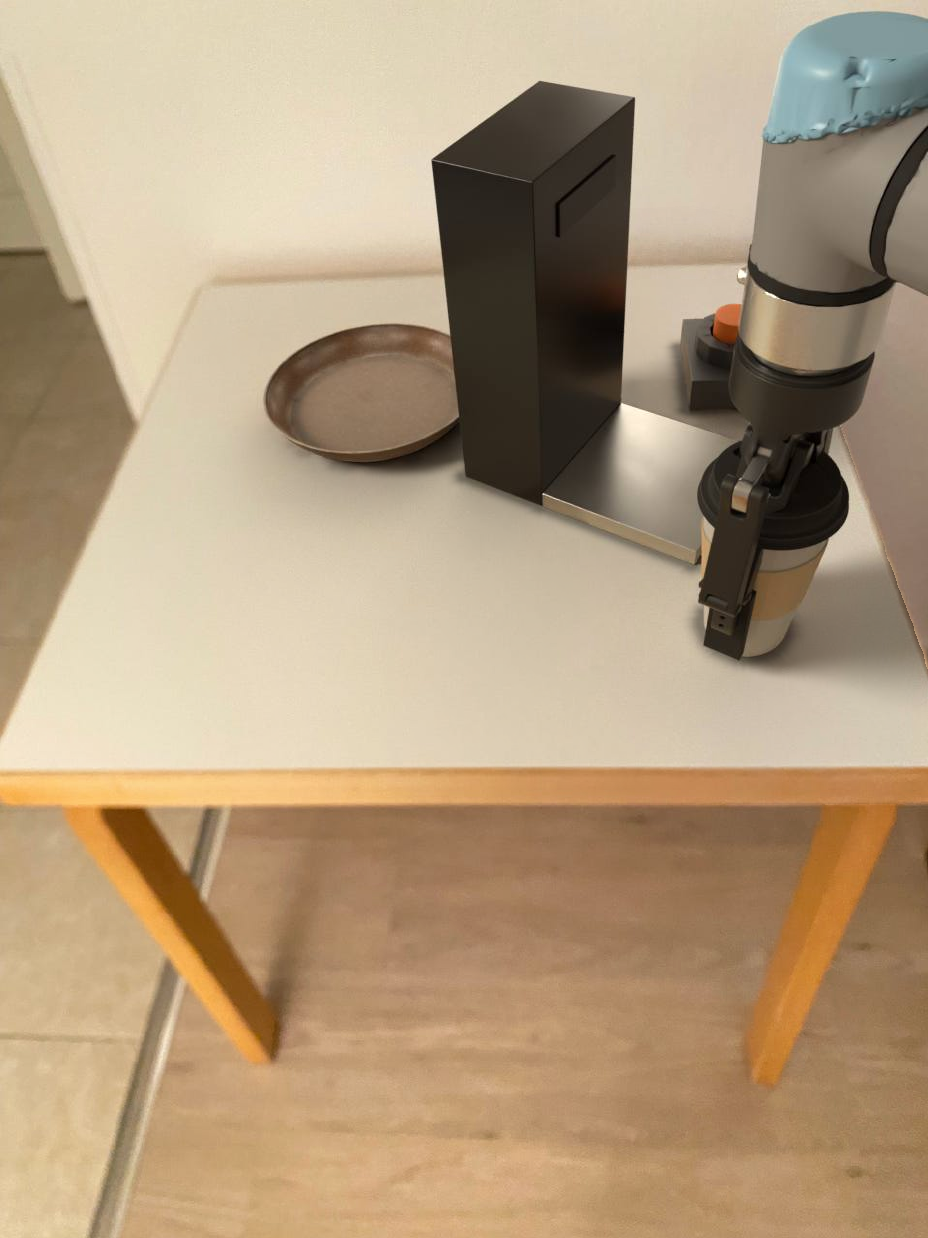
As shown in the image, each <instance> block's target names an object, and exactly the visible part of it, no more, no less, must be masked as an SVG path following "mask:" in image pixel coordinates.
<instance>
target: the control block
mask: <svg viewBox="0 0 928 1238" xmlns="http://www.w3.org/2000/svg"><path fill="white" fill-rule="evenodd" d="M715 313H716V312H714V313H711V314H709V315H707V316H704V317H703V318H683V319H682V324H681V332H680V344H679V349H680V357H681V364H682V371H683V379H684V385H685V392H686V398H687V404H688V410H689V411H694V410H724V409H725V410H728V409H733V410H735V409H737V408H736V407H735V405H734V404H733V402H732V400H731V397H730V394H729V379H730V372H731V365H732V358H733V352H734V345H735V344H728V343H725V342H721V341H718V340H717V339H716V338H714V336H713V329H714V321H715Z"/></svg>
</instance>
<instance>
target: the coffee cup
mask: <svg viewBox="0 0 928 1238" xmlns="http://www.w3.org/2000/svg"><path fill="white" fill-rule="evenodd" d="M742 440H743V439H741V440H738V442H736V443H734V444H732V445H731V446H729V447H728V448H726V449H725V450H724V451H723V452H722V453H721V454H720V455H719V457H717V458H716V459H715V460H713V461H712V462H711V463H710V464H709V466H708V467H707V468H706V470H705V471H704V473H703V476H702V479H701V481H700V483H699V486H698V490H697V500H698V505H699V508H700V510H701V512H702V514H703V518H702V554H701V580H702V579H703V577H704V573H705V568H706V564H707V560H708V555H709V551H710V546H711V542H712V538H713V533H714V529H715V525H716V520H717V516H718V511H719V501H720V489H721V487H720V486H721V483H722V480H723V479H724V478H725V476H726V475H728V474H730V475H733V476H736V473H737V470H738V467H739V464H740V460H741V457H742V455H741V452H740V446H741V443H742ZM762 486H765V487H768V488H769V489H772V490H775V491H778V492H781V491H782V488H783V487H782V486H780V487H772V486H769V485H766V484H763V483H762ZM849 511H850V491H849V487H848V485H847V482H846V480H845V479H844V477H843V475H842V473H841V470H840V468H839V466H838V464H837V463H836V461H835V460H834V459H833V457H831V456H830V455H829V453H828V454H827V453H825V452H824V451H823V450H822V451H821V453H820V455H819V457H818V459H817V461H816V463H811V462H809V463H808V464H807V466H806V467H804V468H803V469H802V470H801V473H800V476H799V479H798V482H797V485H796V488H795V491H794V494H793V496H792V499H791V502H790V503H789V504H788V505H787V506H786V507H785V508H783V509H782V510H779V511H776V512H775V513H772V512H769V511H766V513H765V517H764V521H763V525H762V528H761V532H760V536H759V540H758V543H757V547H756V548H759V549H764V550H763V556H762V562H761V565H760V568H759V571H758V574H757V577H756V580H755V583H754V586H753V589H752V590H754V591H757V593H756V598H755V602H754V607H753V611H752V616H751V621H750V625H749V630H748V635H747V639H746V644H745V648H744V653H743V655H742V657H745V658H746V657H747V658H750V657H757V656H761V655H765V654H767V653H769V652H771V651H773V650H774V649H775V648H777V647H778V646H779V645H780V644H781V643H782V641H783V640H784V638H785V636H786V634H787V633H788V630H789V628H790V625H791V623H792V620H793V618H794V616H795V614H796V612H797V610H798V607H799V606H800V604H801V603H803V602H802V601H803V600H804V598H805V596H806V594H807V592H808V590H809V588H810V585H811V583H812V581H813V578H814V576H815V574H816V572H817V570H818V568H819V565H820V563H821V561H822V558H823V556H824V554H825V551H826V550H827V547H828V544H829V540H830V539H831V538H832V537H833V536H834V535H836V534H837V533H838V532H839V531H840V529H841V528H842V527H843V526H844V524H845V522H846V520H847V518H848V515H849ZM708 613H709V607H707V606H705V605H703V626H704V629H705V631H706V626H707V619H708Z"/></svg>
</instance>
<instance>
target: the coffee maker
mask: <svg viewBox="0 0 928 1238" xmlns="http://www.w3.org/2000/svg"><path fill="white" fill-rule="evenodd" d="M635 112H636V97H635V96H630V95H626V94H625V95H624V94H619V93H613V92H607V91H602V90H597V89H590V88H585V87H579V86H572V85H568V84H561V83H557V82H556V83H555V82H551V81H550V82H549V81H545V80H544V81H543V80H538V81H536V82H535V83H534V84H532V85H531V86H530V87H528V88H527V89H525V90H524V91H522V92H521V93H520V94H519V95H517V96H516V97H514V98H513V99H512V100H511V101H509V102H508V103H506V104H505V105H504V106H502V107H501V108H499V109H498V110H497V111H495V112H493V114H491V115H490V116H489V117H487V118H486V119H485V120H483V121H481V122H480V123H479V124H477V125H476V126H475V127H473V128H472V129H471V130H469V131H468V132H466V133H465V134H464V135H462V136H461V137H460V138H458V139H457V140H456V141H454V142H453V143H451V144H450V145H449V146H448V147H446V148H445V149H443V150H441V152H439V153H438V154H437V155H435V156H434V157H432V158H431V170H432V179H433V187H434V197H435V207H436V215H437V226H438V235H439V244H440V252H441V262H442V272H443V281H444V290H445V301H446V308H447V310H446V311H447V318H448V327H449V334H450V338H451V347H452V356H453V365H454V375H455V384H456V393H457V402H458V412H459V429H460V430H459V431H460V439H461V447H462V449H461V450H462V457H463V466H464V467H463V468H464V476H465V478H468V479H471V480H474V481H477V482H479V483H482V484H484V485H486V486H489V487H492V488H495V489H497V490H500V491H502V492H505V493H508V494H509V495H513V496H514V497H518V498H521V499H523V500H525V501H528V502H531V503H533V504H536V505H538V506H541V507H543V508H545V509H548V510H551V511H553V512H555V513H558V514H561V515H563V516H567V517H568V518H571V519H574V520H577V521H580V522H582V523H585V524H587V525H590V526H593V527H595V528H596V529H597V528H598V529H600V530H603V531H606V532H608V533H610V534H613V535H615V536H619V537H621V538H623V539H626V540H628V541H631V542H634V543H637V544H639V545H642V546H644V547H647V548H649V549H652V550H654V551H656V552H657V551H658V552H660V553H662V554H665V555H668V556H670V557H673V558H676V559H678V560H680V561H684V562H686V563H689V564H691V565H695V564H696V563H697V561H698V560H699V559H700V557H701V556H702V518H703V514H702V512H701V510H700V508H699V505H698V500H697V490H698V486H699V483H700V481H701V479H702V476H703V473H704V471H705V470H706V468H707V467H708V466H709V464H710V463H711V462H712V461H713V460H715V459H716V458H717V457H719V455H720V454H721V453H722V452H723V451H724V450H725V449H726V448H728V447H729V446H731V445H732V444H734V443H736V442H738V441H739V440H738V439H735V438H731V437H728V436H725V435H722V434H719V433H716V432H713V431H709V430H706V429H703V428H700V427H697V426H693V425H691V424H688V423H685V422H682V421H678V420H676V419H673V418H669V417H667V416H663V415H660V414H657V413H654V412H651V411H648V410H645V409H641V408H638V407H634V406H631V405H629V404H627V403H623V402H622V391H623V390H622V389H623V387H622V386H623V367H624V366H623V364H624V347H625V344H624V343H625V324H626V323H625V322H626V306H627V305H626V302H627V284H628V283H627V281H628V260H629V243H630V242H629V240H630V239H629V238H630V222H631V221H630V220H631V218H630V217H631V195H632V178H633V177H632V174H633V156H634V154H633V153H634V137H635V136H634V133H635V115H636V114H635Z"/></svg>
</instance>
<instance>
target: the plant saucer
mask: <svg viewBox="0 0 928 1238" xmlns="http://www.w3.org/2000/svg"><path fill="white" fill-rule="evenodd" d="M262 402H263V403H262V405H263V411H264V413H265V416H266V418H267V419H268V421H269V423H270V424H271V425H272V427H273V428H274V429H275V430H276V431H277V432H278V433H279V434H281V436H283V437H284V438H285V439H287V440H288V441H290V442H291V443H293V444H294V445H296V446H297V447H299V448H301V449H303V450H305V451H308V452H310V453H312V454H314V455H317V456H321V457H324V458H328V459H332V460H337V461H344V462H351V463H352V462H353V463H356V462H357V463H359V462H360V463H369V462H378V461H379V462H380V461H385V460H386V461H387V460H391V459H396V458H399V457H404V456H406V455H409V454H411V453H414V452H417V451H419V450H421V449H423V448H425V447H428V445H431V444H432V443H434V442H436V441H437V440H439V439H440V438H441V437H443V436H444V435H446V434H447V433H449V432H450V430H451V429H453V428H454V427H455V426H456V424H458V423H460V421H459V412H458V402H457V393H456V384H455V375H454V365H453V356H452V347H451V338H450V333H447V332H446V331H443V330H440V329H438V328H434V327H431V326H426V325H422V324H421V325H420V324H414V323H407V322H406V323H405V322H384V323H383V322H380V323H369V324H362V325H356V326H352V327H346V328H344V329H343V328H342V329H340V330H337V331H336V330H335V331H334V332H331V333H328V334H325V335H323V336H320V337H318V338H316V339H313V340H311V341H310V342H307V343H305V344H304V345H303V346H301V347H299V348H298V349H296V350H294V351H293V352H292V353H291V354H290V355H289V354H288V356H287V357H285V358H284V360H282V362H280V363H279V365H278V366H277V367H276V368H275V369H274V371H273V372H272V373H271V374H270V376H269V377H268V380H267V382H266V384H265V386H264V390H263V395H262Z"/></svg>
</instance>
